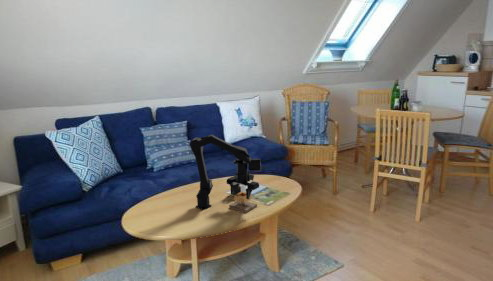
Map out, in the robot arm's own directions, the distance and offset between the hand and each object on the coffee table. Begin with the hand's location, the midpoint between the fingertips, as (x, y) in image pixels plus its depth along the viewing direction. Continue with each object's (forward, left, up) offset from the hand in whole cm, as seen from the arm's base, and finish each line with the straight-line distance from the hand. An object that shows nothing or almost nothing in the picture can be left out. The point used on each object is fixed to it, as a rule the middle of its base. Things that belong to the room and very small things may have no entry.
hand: (242, 197), depth 190 cm
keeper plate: (0, 0, -6) cm, 6 cm away
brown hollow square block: (0, 0, -1) cm, 1 cm away
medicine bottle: (+14, +14, -6) cm, 21 cm away
